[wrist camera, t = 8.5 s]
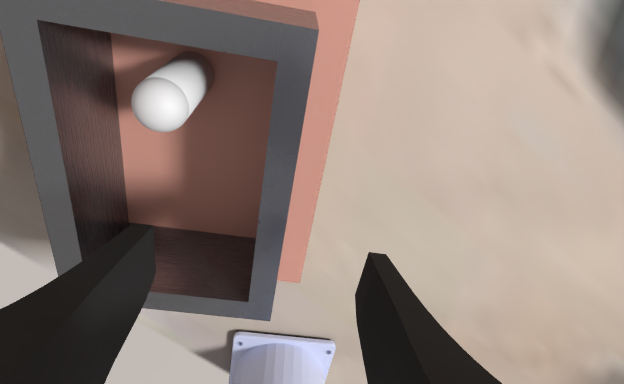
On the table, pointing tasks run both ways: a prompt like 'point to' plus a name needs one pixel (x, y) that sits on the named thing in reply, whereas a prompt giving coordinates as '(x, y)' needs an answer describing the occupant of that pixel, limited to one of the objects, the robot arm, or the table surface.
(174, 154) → the board
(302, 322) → the table surface
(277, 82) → the gray open box
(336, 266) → the table surface
